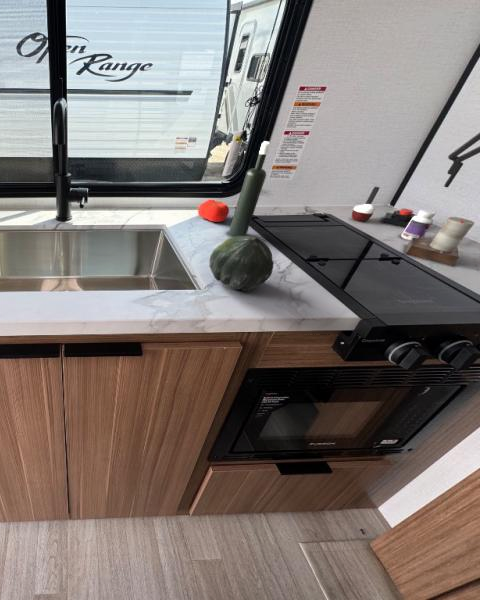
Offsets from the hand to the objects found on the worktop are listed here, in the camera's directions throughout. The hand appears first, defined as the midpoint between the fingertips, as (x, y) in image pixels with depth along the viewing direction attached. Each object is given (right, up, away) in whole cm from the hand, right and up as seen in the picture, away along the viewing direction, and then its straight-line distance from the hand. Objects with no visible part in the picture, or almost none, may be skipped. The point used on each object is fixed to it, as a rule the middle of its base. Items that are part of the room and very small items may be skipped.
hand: (478, 191), depth 92 cm
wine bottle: (-59, -8, +22) cm, 63 cm away
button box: (+10, -2, +33) cm, 34 cm away
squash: (-72, -27, -4) cm, 77 cm away
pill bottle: (+3, -10, +22) cm, 24 cm away
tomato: (-63, 0, +34) cm, 71 cm away
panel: (-2, -17, +11) cm, 20 cm away
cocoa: (-4, 0, +35) cm, 35 cm away
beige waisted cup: (-1, -15, +8) cm, 17 cm away
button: (+10, +1, +31) cm, 32 cm away
